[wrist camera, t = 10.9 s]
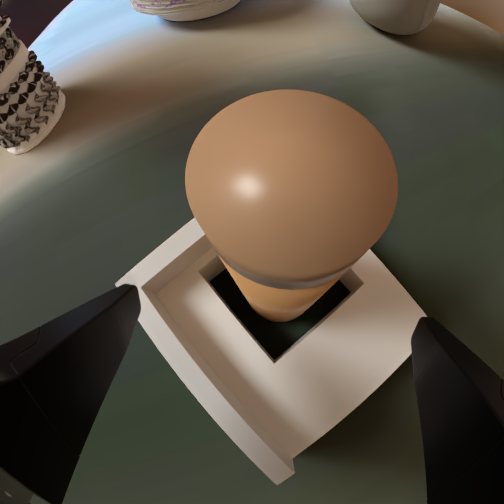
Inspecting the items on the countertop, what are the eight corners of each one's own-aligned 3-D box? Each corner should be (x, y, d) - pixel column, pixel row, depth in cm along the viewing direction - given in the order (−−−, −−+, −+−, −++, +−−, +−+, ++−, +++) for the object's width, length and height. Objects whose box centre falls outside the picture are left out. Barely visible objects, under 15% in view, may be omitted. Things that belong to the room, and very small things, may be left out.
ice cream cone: (323, 270, 19) (411, 128, 6) (298, 332, 18) (364, 311, 5) (261, 245, 19) (239, 72, 6) (235, 306, 18) (147, 223, 5)
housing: (412, 329, 17) (453, 323, 12) (276, 450, 16) (276, 485, 11) (286, 190, 20) (290, 146, 15) (151, 298, 19) (114, 284, 14)
